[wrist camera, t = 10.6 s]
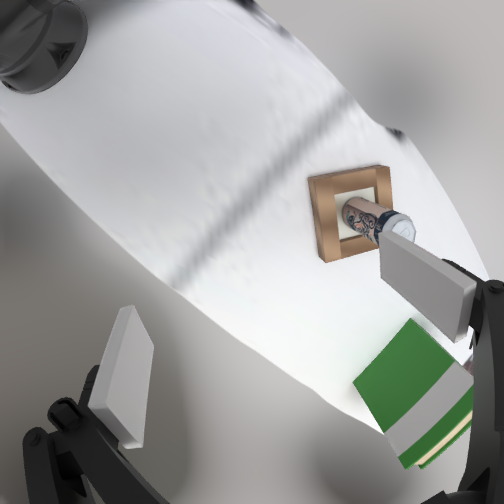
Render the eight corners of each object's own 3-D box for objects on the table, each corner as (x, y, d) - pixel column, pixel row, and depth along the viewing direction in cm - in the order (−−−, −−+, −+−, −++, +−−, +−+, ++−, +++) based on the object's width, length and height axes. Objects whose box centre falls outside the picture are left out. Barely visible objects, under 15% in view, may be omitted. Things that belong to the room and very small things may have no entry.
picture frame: (307, 177, 41) (314, 180, 39) (379, 165, 42) (389, 166, 40) (319, 256, 46) (325, 263, 43) (385, 238, 46) (394, 243, 44)
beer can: (335, 208, 42) (380, 232, 30) (360, 189, 41) (410, 207, 30) (350, 234, 43) (394, 264, 32) (374, 216, 43) (423, 240, 32)
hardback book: (372, 390, 59) (422, 469, 37) (352, 382, 57) (405, 469, 35) (425, 330, 56) (494, 399, 34) (410, 317, 54) (485, 392, 31)
